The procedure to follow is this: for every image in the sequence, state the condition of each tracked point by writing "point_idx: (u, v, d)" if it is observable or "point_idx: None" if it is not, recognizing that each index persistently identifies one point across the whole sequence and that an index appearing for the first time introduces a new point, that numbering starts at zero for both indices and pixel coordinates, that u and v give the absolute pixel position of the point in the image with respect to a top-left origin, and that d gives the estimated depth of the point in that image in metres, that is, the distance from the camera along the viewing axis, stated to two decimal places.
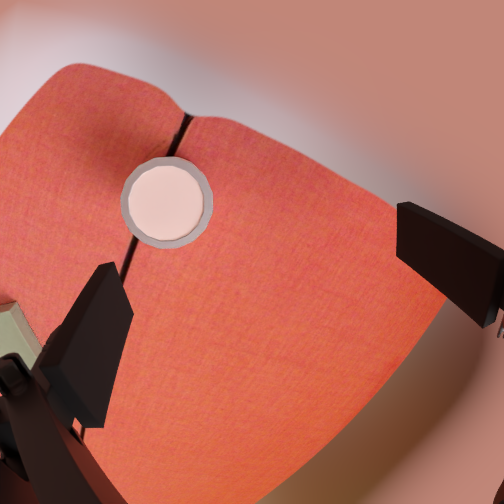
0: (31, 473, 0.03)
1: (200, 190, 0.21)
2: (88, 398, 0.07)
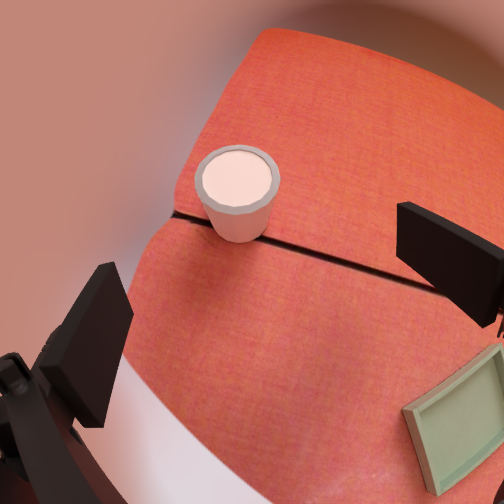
0: (31, 473, 0.03)
1: (222, 154, 0.25)
2: (88, 398, 0.07)
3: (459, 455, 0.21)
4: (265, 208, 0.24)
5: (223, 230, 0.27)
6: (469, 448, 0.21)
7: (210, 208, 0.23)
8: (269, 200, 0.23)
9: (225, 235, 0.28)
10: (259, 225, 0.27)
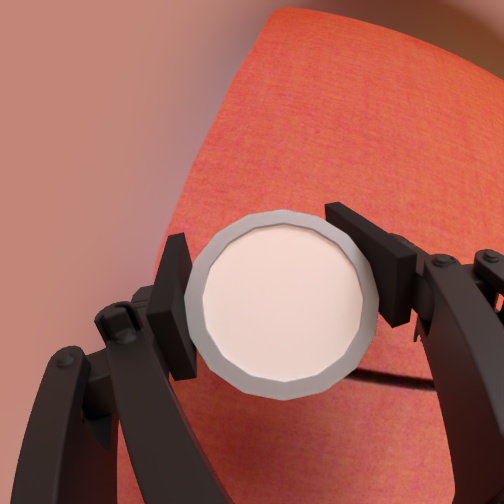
0: (126, 424, 0.05)
1: (245, 236, 0.11)
2: (187, 347, 0.09)
3: None
4: None
5: None
6: None
7: None
8: (360, 356, 0.10)
9: None
10: None
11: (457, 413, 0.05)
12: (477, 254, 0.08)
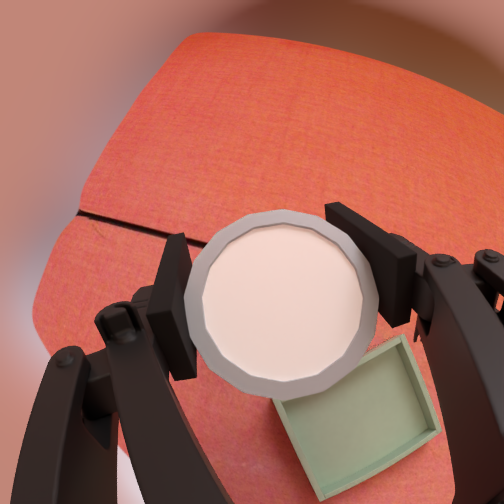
0: (126, 423, 0.05)
1: (245, 236, 0.11)
2: (187, 347, 0.09)
3: (353, 459, 0.22)
4: None
5: None
6: (367, 452, 0.23)
7: None
8: (360, 356, 0.10)
9: None
10: None
11: (457, 413, 0.05)
12: (477, 254, 0.08)
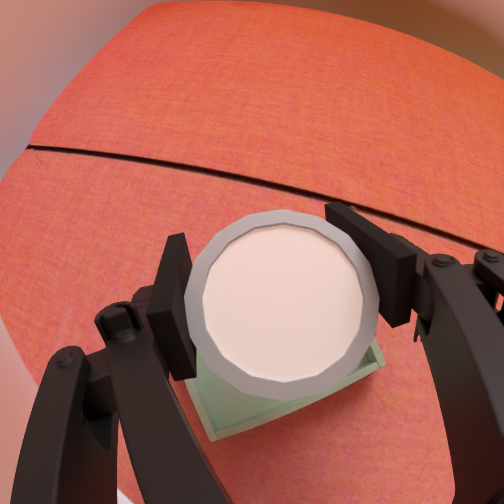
0: (126, 423, 0.05)
1: (245, 236, 0.11)
2: (187, 347, 0.09)
3: None
4: None
5: None
6: None
7: None
8: (361, 356, 0.10)
9: None
10: None
11: (457, 413, 0.05)
12: (477, 254, 0.08)
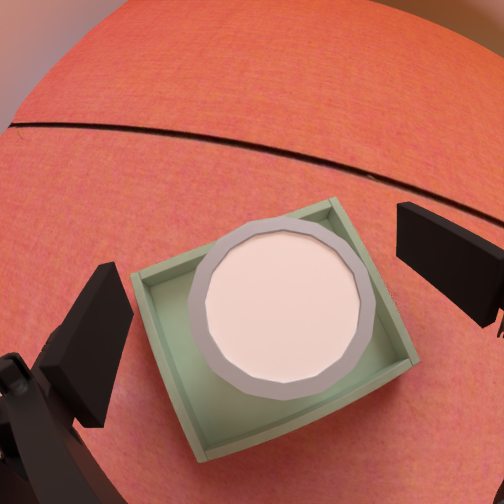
0: (31, 473, 0.03)
1: (246, 243, 0.12)
2: (88, 398, 0.07)
3: (262, 398, 0.16)
4: None
5: None
6: None
7: None
8: (357, 358, 0.10)
9: None
10: None
11: None
12: None
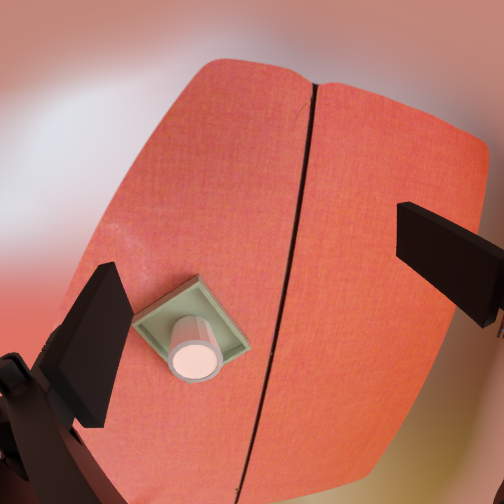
0: (31, 473, 0.03)
1: (211, 350, 0.36)
2: (88, 398, 0.07)
3: (163, 334, 0.41)
4: None
5: None
6: (169, 341, 0.42)
7: (169, 353, 0.35)
8: (184, 380, 0.36)
9: (171, 335, 0.40)
10: None
11: None
12: None
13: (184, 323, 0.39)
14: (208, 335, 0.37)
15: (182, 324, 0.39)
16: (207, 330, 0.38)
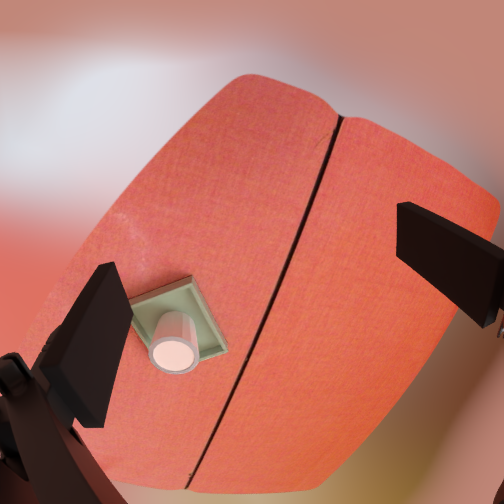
0: (31, 473, 0.03)
1: (190, 348, 0.38)
2: (88, 398, 0.07)
3: (150, 322, 0.44)
4: None
5: (155, 330, 0.41)
6: (154, 330, 0.44)
7: (151, 343, 0.37)
8: (160, 369, 0.39)
9: None
10: None
11: None
12: None
13: (170, 317, 0.42)
14: (190, 334, 0.39)
15: (168, 318, 0.41)
16: (190, 329, 0.41)
